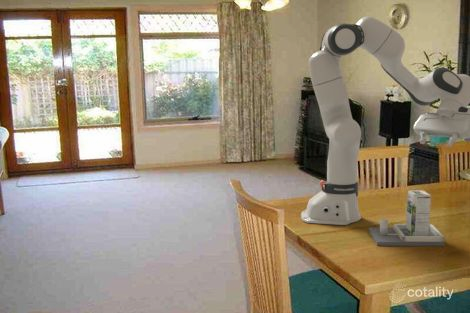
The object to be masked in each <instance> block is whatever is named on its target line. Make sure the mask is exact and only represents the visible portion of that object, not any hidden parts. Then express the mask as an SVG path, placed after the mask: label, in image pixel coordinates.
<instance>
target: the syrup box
mask: <svg viewBox="0 0 470 313" xmlns="http://www.w3.org/2000/svg"><path fill="white" fill-rule="evenodd" d="M431 198H432V195H431V194H429V193H428V192H426V191H425V190H421V189H420V190H418V189H417V190H415V189H414V190H407V201H406V202H407V203H406V204H407V205H406V215H405V216H406V219H405V224H406V232H407V233H408V234H409V235H410V236H428V235H429V224H430V216H431V215H430V214H431Z"/></svg>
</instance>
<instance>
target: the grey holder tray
mask: <svg viewBox="0 0 470 313" xmlns="http://www.w3.org/2000/svg"><path fill="white" fill-rule="evenodd" d="M388 222H389V221H388V219H386V218H380V219H379V227H368V232H369V234H370V236H371V237H372V239H373V241H374V243H375V245H376V246H381V247H383V246H384V247H385V246H387V247H389V246H391V247H392V246H398V247H399V246H401V247H402V246H403V247H404V246H406V247H408V246H410V247H411V246H413V247H418V246H419V247H420V246H421V247H422V246H423V247H425V246H426V247H436V246H437V247H445V246H446V242H445V236H444V235H443V234H442V232H440V231H439V230H438V229H437V228H436V226H434V225H433V224H432V223H429V235H428V236H410V235H409V234H408V233H407V232H406V223H392V227H389V224H388Z"/></svg>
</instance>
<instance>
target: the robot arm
mask: <svg viewBox="0 0 470 313" xmlns="http://www.w3.org/2000/svg"><path fill="white" fill-rule="evenodd" d="M405 47H406V43H405V38H403V36H402V35H401V34H400V33H399V32H398V31H396V30H395V29H394V28H393V27H391V26H389V25H388V24H386V23H384V22H383V21H381V20H379V19H377V18H375V17H373V16H369V15H368V16H363V17H362V18H360V19H359V20H358V21H357V22H356V23H353V24H352V23H339V24H336V25H332V26H331V27H329V28H328V29H327V30H326V31H325V32H324V33H323V35H322V38H321V42H320V48H319V50H317V51H316V52H314V53H312V55H311V56H310V57H309V58H308V69H309V77H310V82H311V84H312V88H313V92H314V94H315V97H316V101H317V104H318V107H319V111H320V117H321V119H322V124H323V128H324V131H325V134H326V137H327V138H328V139H329V143H328V144H329V145H328V155H327V161H326V163H327V164H326V166H327V168H326V181H324V180H323V179H322V180H320V181H319V185H320V186H321V190H320V191H319V192H318V193H317V194H315V195H314V196H312V197H310V199H309V200H308V203H307V206H306V209H304V210H302V211H301V214H300V218H301V220H302V221H303V222H305V223H307V224H319V225H321V224H323V225H336V226H337V225H340V226H347V225H350V224H351V223H355V222H358V221H360V220H361V219H362V218H361V213H360V210H359V203H358V202H359V201H358V197H359V182H358V161H359V160H358V158H359V153H360V147H361V146H360V145H361V138H362V129H361V127H360V124H359V123H358V122H357V121H356V120H355V119H353V116H352V111H351V107H350V100H349V94H348V91H347V89H346V88H347V87H346V85H345V80H344V77H343V74H342V71H341V69H340V61H341V57H344V56H348V55H349V54H351V53H353V52H354V51H356V50H357V49H359V48H361V49H363V50H366V51H367V53H369V54H371V55H372V56H373V57H375V58H376V59H377V60H378V62H379V63H380V66H381V68H382V69H383V71H384V72H385V73H386V74H387V75H388V76H389V77H390V78H392V80H393V81H394V82H396V83H397V84H398V85H399V86H400V87H401V88H403V90H405V92H406V93H407V94H408V95H409V97H410V98H411V100H412V101H413V102H414V103H415V104H417V105H419V106H423V107H424V106H429V105H431V104H432V103H434V102H435V101H436V100H439V99H440V100H441V102H440V104H439V106H438V108H437V110H436V111H435V112H424V113H422V114H420V115H419V117H418V119H417V120H416V121H415V123H414V124H413V126H412V128H413V131H414V133H415V134H416V135H420V138H419V143H420V144H422V145H426V142H427V139H426V137H427V136H431V137H441V138H450V139H447V140H446V142H445V146H446V147H447V148H448V147H449V148H452V146H453V144H455V143H456V142H457V141H459V139H467V140H468V139H470V107H467V106H469V105H470V75H468V74H465V73H461V74H459V73H455V72H454V71H453V70H451V69H449V68H447V67H438V68H435V69H434V70H432V71H431V72H429V73H428V74H426V75H424V76H423V77H417V76H415V75H414V74H413V73H412V72H411V71H410V70H409V69H408V68H406V66H404V64H403V63H402V57H403V55H404V53H405Z"/></svg>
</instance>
